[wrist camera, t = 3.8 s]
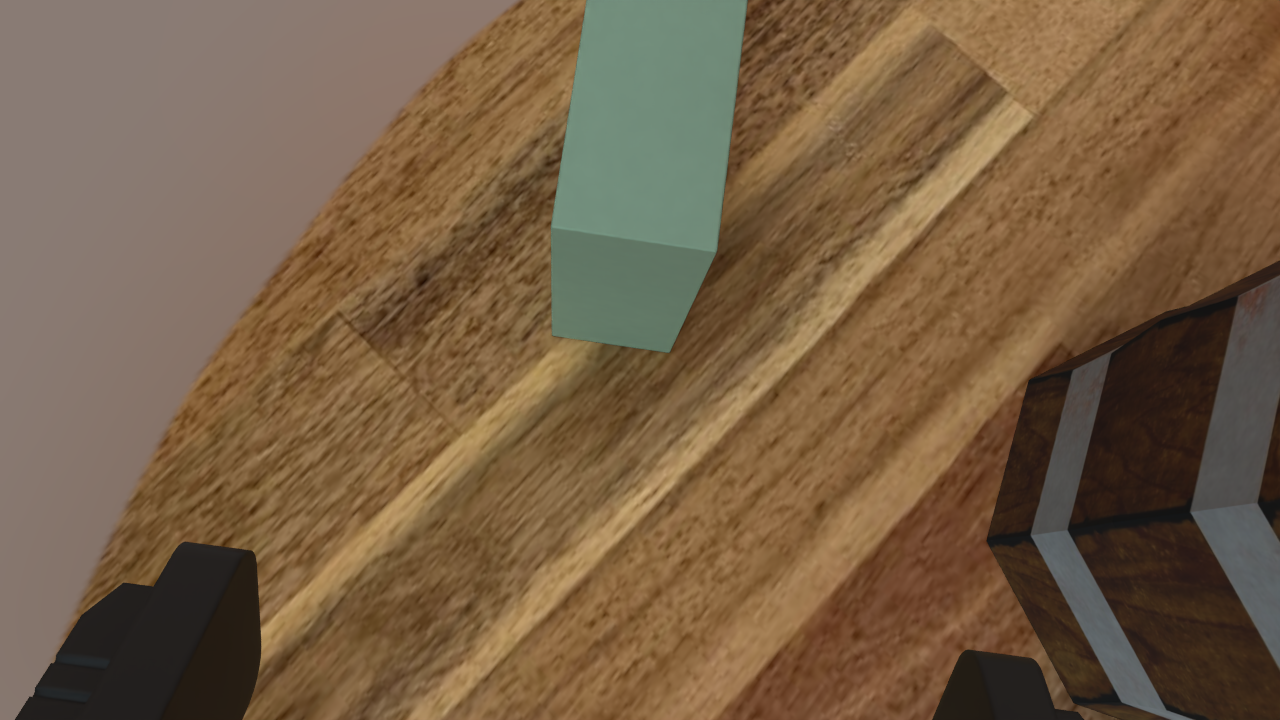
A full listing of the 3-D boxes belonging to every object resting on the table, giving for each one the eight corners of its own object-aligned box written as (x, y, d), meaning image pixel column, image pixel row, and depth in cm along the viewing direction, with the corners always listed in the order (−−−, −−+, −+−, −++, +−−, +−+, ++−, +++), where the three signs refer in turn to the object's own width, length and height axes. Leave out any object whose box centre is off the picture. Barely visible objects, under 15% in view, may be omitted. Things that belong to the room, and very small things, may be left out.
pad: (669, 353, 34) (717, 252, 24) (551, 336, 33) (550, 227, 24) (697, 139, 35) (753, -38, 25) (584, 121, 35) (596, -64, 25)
